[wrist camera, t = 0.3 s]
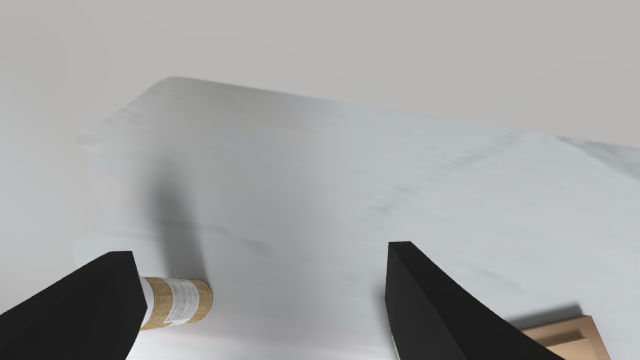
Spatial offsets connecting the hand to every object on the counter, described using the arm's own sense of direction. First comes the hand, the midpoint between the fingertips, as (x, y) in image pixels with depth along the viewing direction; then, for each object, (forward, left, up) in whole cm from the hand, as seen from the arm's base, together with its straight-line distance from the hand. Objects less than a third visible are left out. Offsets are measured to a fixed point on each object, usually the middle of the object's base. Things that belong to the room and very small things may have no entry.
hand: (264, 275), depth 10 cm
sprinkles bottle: (+2, +16, -29) cm, 33 cm away
